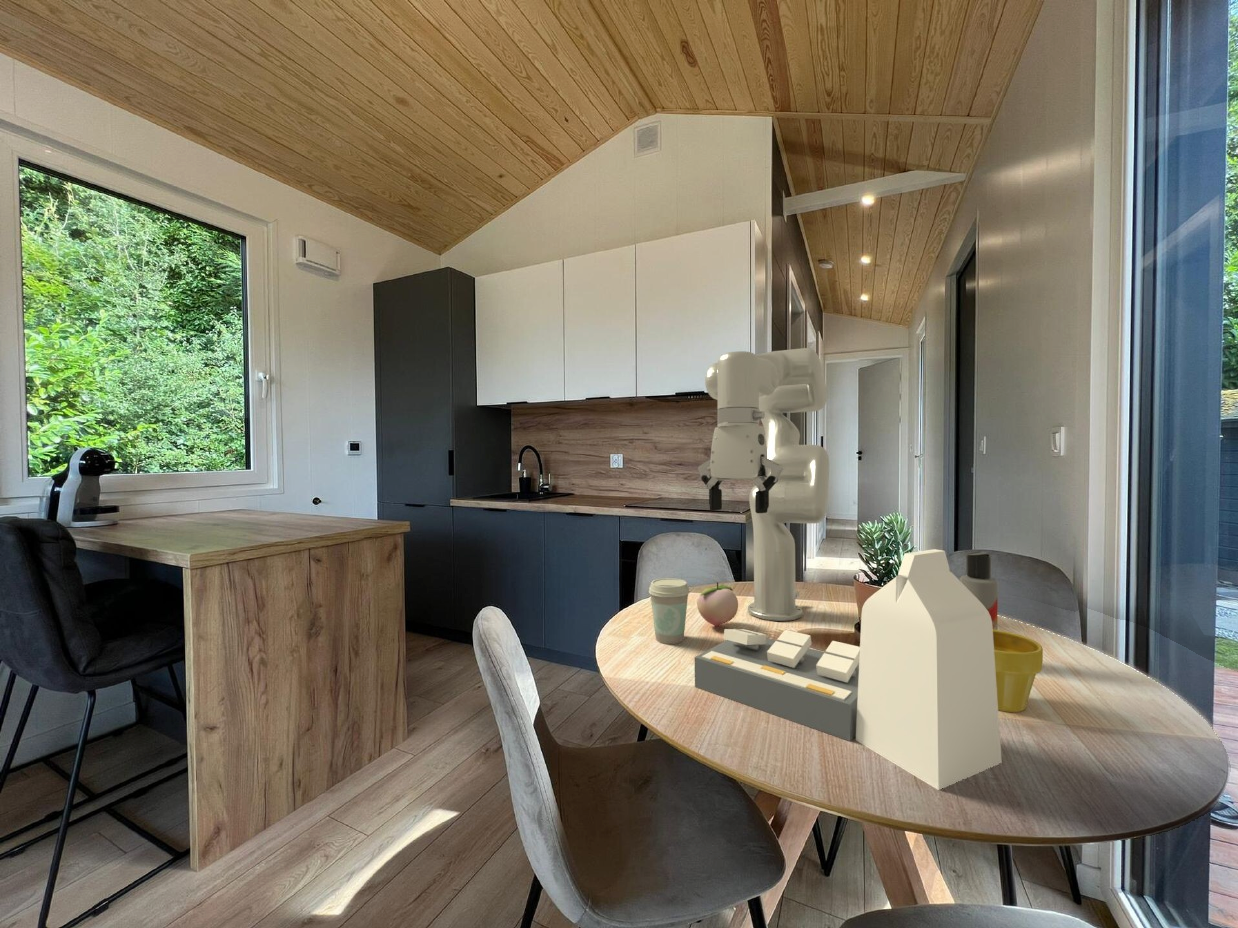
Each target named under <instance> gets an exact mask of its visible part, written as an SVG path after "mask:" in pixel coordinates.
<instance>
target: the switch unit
mask: <svg viewBox="0 0 1238 928" xmlns="http://www.w3.org/2000/svg"><path fill="white" fill-rule="evenodd" d="M775 641H776V639H773V638H769V637H766V644H757V645H745V644H741V643H738V642H734V641H730V640H726V639H725V640H723V641H722V642H721V643H720V642H719V643H718V644H717V645H714V646H713V647H711V648H709V649H707V650H705V651H703V652H702V653H700V654H698V655H696V656H694V687H695V688H696V689H697V688H698V689H700V690H702V691H706V692H709V693H712V694H714V695H717V696H720V697H723V698H726V699H729V700H732V701H735V702H736V703H740V704H743V705H745V706H749V707H751V708H754V709H756V710H760V711H763V712H765V713H768V714H771V715H773V716H777V717H780V718H782V719H786V720H787V721H791V722H794V723H797V724H799V725H802V726H805V727H808V728H811V729H813V730H817V731H820V732H822V733H825V734H828V735H831V736H834V737H837V738H840V739H842V740H845V741H848V742H851V740H852V739H853V738H855V737H856V723H857V701H858V680H859V663H858V665H857V667H856V668H855V670H854V672H853V674H852V675H851V677H850V679H849V681H848V682H843V681H839V680H836V679H832V678H829V677H825V676H822V675H818V674H817V668H816V664H817V663H818V661H819V660H820V659H821V657H822V656H823V654H824V652H825V651H822V650H818V649H814V648H810V647H809V648H808V650H807V651H806V652H805V654H804V655H803V657H802V658H801V659H800V661H799V662H798V663H797V665H796V666H795V668H793V667H789V666H786V665H782V664H779V663H775V662H771V661H768V657H767V651H768V650H769V649H770V647H771V646H772V645H773V644H774V643H775Z"/></svg>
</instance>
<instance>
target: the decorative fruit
mask: <svg viewBox="0 0 1238 928" xmlns="http://www.w3.org/2000/svg"><path fill="white" fill-rule="evenodd" d="M696 606H697V610H698V612H699V614H700V616H701V617H702V618H703V619H704V620H705V621H706V622H707V623H709V624H710V625H712V626H715V627H717V628H719V627H720V626H722V625H723V624H726V623H728V622H730V621H731V620H732V619H734V618H735V616H737V613H738V609H739V600H738V597H737V596H736V594H735V593H734V592H733V588H731V586H728V585H723V584H720V585H719V582H718V581H717V582H716V586H715V587H714V586H712V587H710V586H709V587H706V588H704V589H703V590H702V591H701V593H700V594H699V596H698V598H697V601H696Z"/></svg>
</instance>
